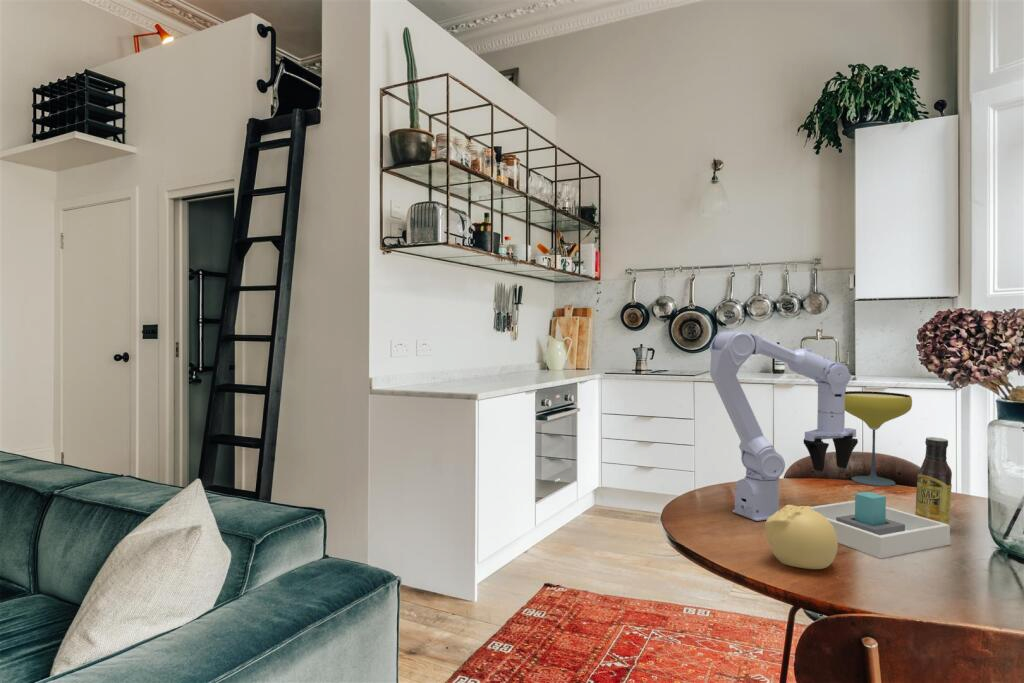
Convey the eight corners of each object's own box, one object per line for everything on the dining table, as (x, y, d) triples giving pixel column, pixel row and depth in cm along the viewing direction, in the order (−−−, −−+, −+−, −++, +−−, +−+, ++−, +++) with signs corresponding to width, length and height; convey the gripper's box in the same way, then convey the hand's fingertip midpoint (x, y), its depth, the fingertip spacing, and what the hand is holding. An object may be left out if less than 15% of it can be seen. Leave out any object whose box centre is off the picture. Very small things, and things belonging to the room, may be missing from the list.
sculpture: (783, 547, 123) (783, 494, 123) (847, 565, 114) (847, 507, 114) (755, 562, 115) (755, 505, 115) (821, 582, 106) (822, 520, 106)
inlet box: (880, 558, 117) (881, 537, 117) (796, 527, 136) (796, 509, 136) (949, 544, 125) (950, 525, 125) (860, 516, 143) (860, 499, 143)
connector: (872, 536, 127) (872, 498, 127) (854, 531, 131) (855, 493, 131) (885, 534, 129) (885, 496, 129) (867, 528, 133) (868, 491, 133)
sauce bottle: (908, 525, 137) (909, 436, 136) (928, 522, 139) (929, 434, 138) (937, 535, 131) (939, 441, 130) (957, 531, 133) (959, 439, 132)
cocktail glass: (830, 482, 175) (831, 394, 174) (845, 471, 189) (846, 389, 188) (905, 493, 163) (906, 399, 163) (915, 480, 177) (916, 393, 177)
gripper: (822, 415, 139) (822, 475, 140) (868, 412, 145) (867, 469, 145) (797, 411, 146) (797, 468, 146) (841, 408, 151) (841, 463, 152)
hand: (830, 469), depth 146 cm, fingers open, 7 cm apart
